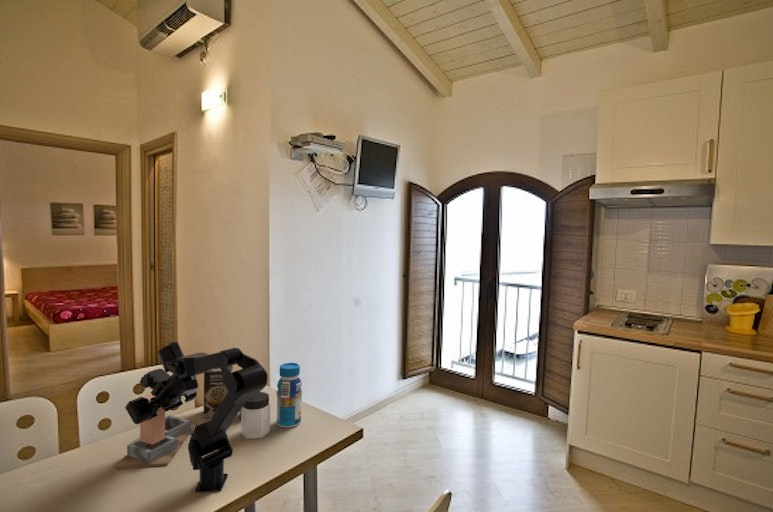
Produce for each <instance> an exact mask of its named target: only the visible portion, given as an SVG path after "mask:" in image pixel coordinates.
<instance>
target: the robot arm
mask: <svg viewBox="0 0 773 512" xmlns="http://www.w3.org/2000/svg"><path fill="white" fill-rule="evenodd" d="M157 355H158V358H159V360H160V362H161V365H162V367H163V368H156V369H154V370H151V371H148V372H147V373H145V374H144V375H143V376H142V377H141V379H140V381H139V383H140V385H141V386H142V387H143V388H144V389H147V388H150V390H151V392H150V394H152V395H153V396H154V395H155V397H153V398H151V399H150V401H151V402H149V400H148V399H147V398H146V399H145V398H144V397H145V396H140V397H137V398H134V399H132V400H129V401H128V402H127V403H126V405H125V407H124V409H125V410H126V412H127V414H128V415H129V417H130V419H131V421H132V422H133V423H134V424H135V425H140V423H142V422H144V421H146V420H149V419H152V418H154V417H156V416H158V415H157V414H156V412H157V411H158V409H159V408H161V407H162V408H163V409H165V413H167V412H169V411H170V410H173V409H176V408H178V407H180V406H182V405H183V404H184V403H183V401H184V402H185V403H189V402H191V401H193V400H195V398H197V390H196V389H198V388H199V383H198V379H197V377H196V376H198V375H201V374H204V372H206V371H208V370H209V369H214V368H220V369H221V370H222V377H221V380H222V382H223V383H224V385H225V386H226V389H227V391H228V393H227V395H226V396H225V398H224V399H223V401H222V402H221V404H220V405H219V407H218V409H217V410H216V412H215V413H214V415H213V416H211V418H210V419H209V420H207V421H205V422H203V423H200V424H197V425H196V426H195V428H194V429H193V431H192V432H191V433H190V435H189V436H190V438H189V442H188V443H187V444H188V445H187V449H188V455H189V461H190V464H191V466H192V470H193V471H195V470H196V471H199V481H198V482H197V484H196V486H195V489H194V493H205V492H221V491H222V490H223V488H224V486H225V484H226V481H227V479H228V477H229V474H228V473H225V472H224V469H225V461H224V460H226V459H228V458H230V457H232V456H233V452H234V449H233V447H232V445H231V443H230V440H229V438H228V437H229V435H228V434H227V431H228V429H229V428H230V426H231V424H232V423H233V422H234V420H235V419H236V417H237V416H238V414H240V412H239V411H240V410H241V408H242V407H243V406H244V404H245V403H246V401H247V400H248V399H250V398H251V397H253V396H254V395H256V394H257V393H259V392H262V390H264V388H266V387H267V384H268V372H267V370H266V369H265V368H264V367H263V365H262V364H261V363H260V362H259V360H257V359H255V358H254V357H251V356H249V355H247V354H245V353H244V352H243V351H242V350H241V349H240V348H237V347H232V348H228V349H223V350H220V351H219V352H213V353H210V354H207V352H200V351H199V352H196V353H192V354H186V355H185V354H184V352H183V349H182V348H181V346H180V344H179V343H178V341H173V342H172V341H171V342H169V344H168V345H165V346H164V347H162V348H161V349H159V350H158V351H157ZM235 365H237V367H240V368H241V369H237V370H233V372H232V373H231V372H230V371H229V369H228V366H235ZM242 368H244V369H242ZM168 372H170V373H172V374H171V375H170V374H169V373H168ZM183 396H184V398H185V399H184V400H183V401H182V397H183Z"/></svg>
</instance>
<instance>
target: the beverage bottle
mask: <svg viewBox="0 0 773 512" xmlns="http://www.w3.org/2000/svg"><path fill="white" fill-rule="evenodd" d="M300 373H301V367H300V364H299V363H297V362H286V363H283V364H280V366H279V377H280V378H279V380H278V381H277V384H276V387H277V390H276V424H277V425H278V427H280V428H288V429H289V428H293V427H294V428H295V427H297V426H298V425H299V424H301V422H302V395H303V390H302V388H301V387H302V385H303V384H302V380H301V378H300V377H299V375H300Z"/></svg>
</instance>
